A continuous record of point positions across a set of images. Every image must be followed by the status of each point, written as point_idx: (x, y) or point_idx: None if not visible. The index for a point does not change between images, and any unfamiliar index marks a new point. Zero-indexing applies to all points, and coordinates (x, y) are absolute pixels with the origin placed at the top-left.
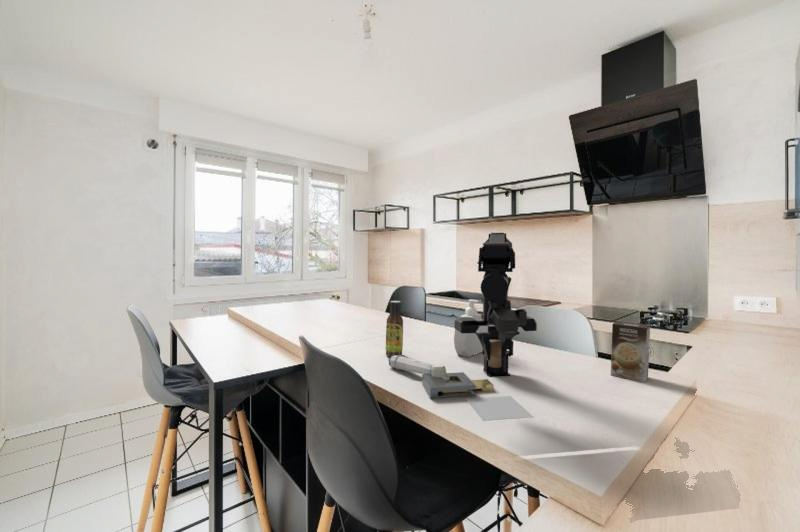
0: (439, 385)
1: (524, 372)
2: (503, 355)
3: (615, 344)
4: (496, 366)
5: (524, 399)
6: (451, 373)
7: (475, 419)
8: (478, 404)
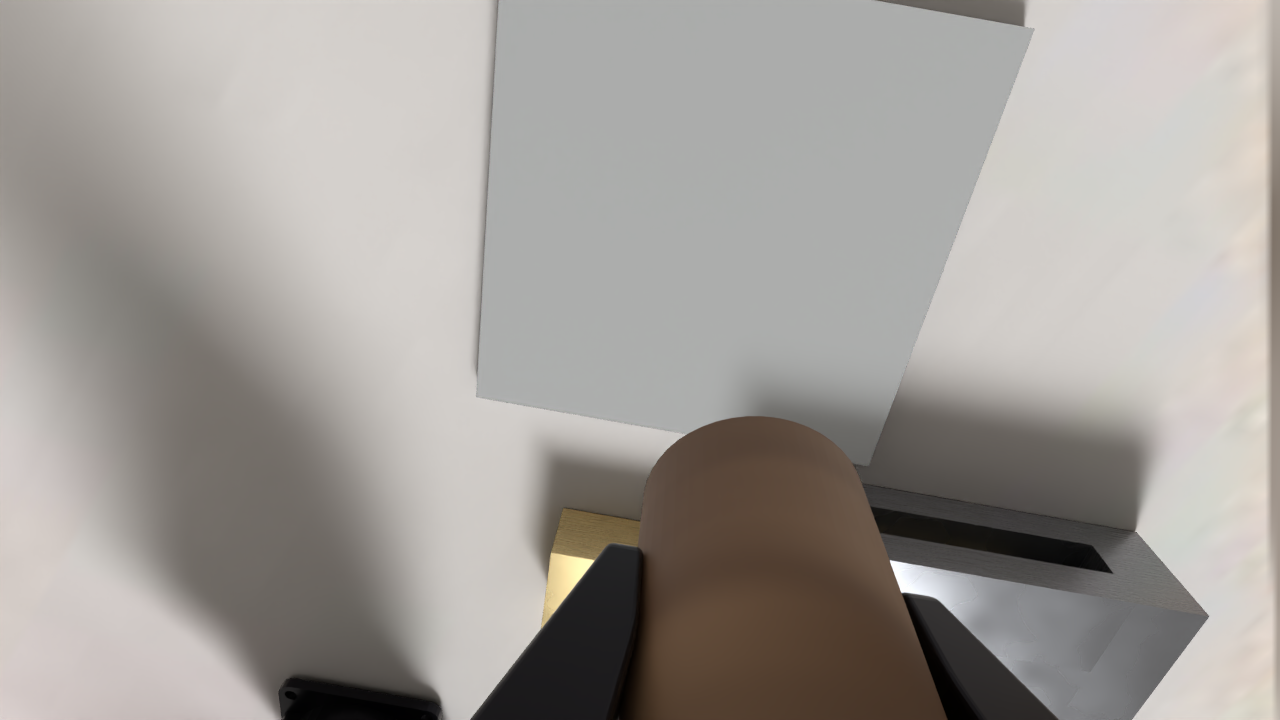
0: (1093, 628)
1: (155, 696)
2: (597, 594)
3: None
4: (796, 435)
5: (378, 326)
6: None
7: (1039, 116)
8: (843, 338)
